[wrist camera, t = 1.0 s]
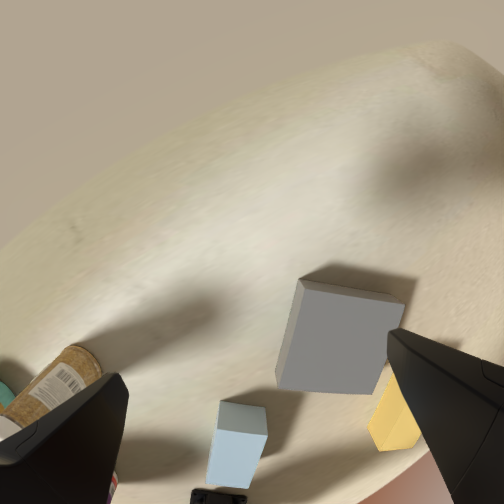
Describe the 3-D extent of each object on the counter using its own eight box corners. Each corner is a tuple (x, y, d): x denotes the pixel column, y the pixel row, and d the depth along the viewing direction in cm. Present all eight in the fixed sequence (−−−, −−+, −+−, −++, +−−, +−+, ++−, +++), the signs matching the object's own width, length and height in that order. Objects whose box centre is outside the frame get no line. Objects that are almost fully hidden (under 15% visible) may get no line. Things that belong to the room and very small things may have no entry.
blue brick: (247, 460, 26) (248, 488, 22) (208, 455, 26) (205, 483, 22) (265, 406, 25) (267, 435, 21) (220, 399, 24) (216, 428, 20)
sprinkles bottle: (55, 349, 23) (-30, 428, 10) (88, 339, 23) (-2, 430, 10) (78, 389, 24) (10, 479, 11) (112, 382, 24) (46, 486, 10)
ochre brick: (397, 424, 26) (412, 447, 22) (366, 426, 25) (379, 451, 22) (428, 361, 24) (449, 381, 20) (396, 360, 24) (416, 382, 20)
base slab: (360, 376, 25) (371, 394, 22) (274, 368, 24) (277, 388, 21) (388, 293, 23) (405, 304, 20) (297, 277, 23) (304, 288, 20)
